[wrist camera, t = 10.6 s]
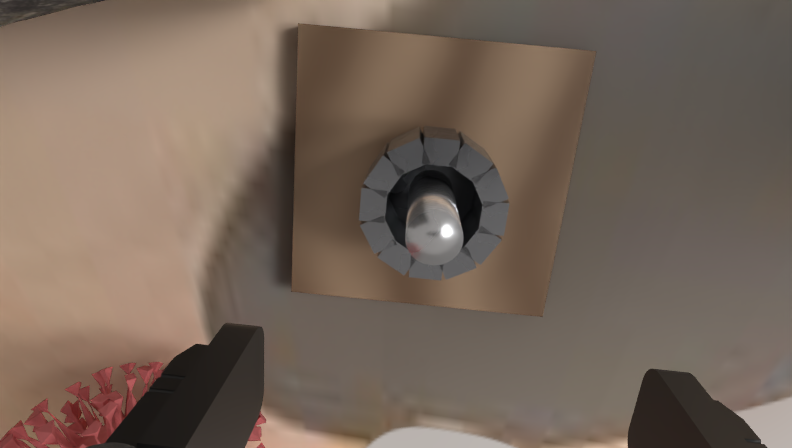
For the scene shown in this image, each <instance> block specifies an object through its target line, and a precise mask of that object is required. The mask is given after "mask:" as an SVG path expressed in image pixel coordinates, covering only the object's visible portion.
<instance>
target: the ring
mask: <svg viewBox="0 0 792 448" xmlns="http://www.w3.org/2000/svg"><path fill="white" fill-rule="evenodd" d="M426 164H428V165H437V166H447V167H453V168H454V169H456V170H457V171H458V172H460V173H461V174H462V175H464V176H465V177H467V178H468V179H469V180H471V181H472V182H473V184H474V186H475V189H474V196H473V202H472V207H471V209H470V210H469V211H468V212H467V214H466V215H465V216H464V217H463V219H462V220H461V221H460V222H461V227H462V231H463V245H462V248H461V250H460V252H459V253H458V255H457V256H456V257H455V258H454V259H452V260H451V261H449V262H447V263H445V264H442V265H427V264H423V263H421V262H419V261H417V260H416V259H415V258H414V257H413V256H412V255H411V254H410V253H409V251H408V249H407V246H406V242H405V233H406V223H405V222H404V221H402V220H401V219H400V218H398V216H397V214H396V212H395V209H394V207H393V205H392V203H391V201H390V199H389V196H390V191H391V189H392V188H393V186H394V185H395V184H396V182H397V181H398V180H399V178H400V177H401V176H402V175H403V174H405V173H407V172H410V171H412V170H414V169H417V168H419V167H421V166H423V165H426ZM507 199H509V197H508V195H507V192H506V190H505V187H504V185H503V182H502V180H501V177H500V175H499V172H498V170H497V168H496V166H495V164H494V163H493V161H492V159H491V158H490V156H489V155H488V153H487V152H486V151H485V149H484V148H483V147H481V146H480V145H478V144H477V143H476V142H474V141H473V140H472V139H470V138H469V137H468V136H466V135H465V134H464V133H462V132H461V131H459V132H458V133H457V132H456V129H452V128H442V127H432V126H424V131H423V133H422V131H421V129H420V126H419V127H417V128H415V129H413V130H410V131H408V132H406V133H404V134H402V135H399V136H397V137H395V138H393V139H391V141H390V143H388V142H387V144H386V145H385V146H384V148H383V149H382V151H381V152H380V153H379V155H378V156H377V158H376V159H375V161H374V162H373V163H372V165H371V166H370V168H369V171H368V173H367V175H366V178H365V180H364V182H363V185H362V188H361V200H360V213H359V221H361V223H360V227H361V229H362V231H363V233H364V235H365V237H366V239H367V241H368V243H369V245H370V247H371V249H372V251H373V253H374V254H375V253H378V257H377V258H379V259H380V260H382V261H383V262H385V263H386V264H388V265H389V266H391V267H392V268H394V269H395V270H397V271H398V272H400V273H401V274H403V275H405V274H406V273H407V271H408V270H409V277H412V278H421V279H431V280H440V281H441V279H442V272H443V274H444V277H445V279H446V280H447V279H450V278H452V277H455V276H458V275H460V274H463V273H465V272H468V271H470V270H473V269H475V268H477V267H476V263H475V262H477V263H478V264H480V265H481V264H482V263H483V262H484V261H485V259H486V258H487V257H488V256H489V255H490V254H491V252H492V251H493V250H494V249H495V248H496V246H497V245H498V244H499V243H500V242H501V241H502V239H501V237H500V235H501V236H504V232H505V227H506V221H507V215H508V209H509V204H510V203H509V202H508V200H507Z"/></svg>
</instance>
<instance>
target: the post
mask: <svg viewBox="0 0 792 448" xmlns="http://www.w3.org/2000/svg"><path fill="white" fill-rule="evenodd" d="M474 189H475V186H474V184H473V182H472V181H471V180H469V179H468V178H467V177H465V176H464V175H462V174H461V173H460V172H458V171H457V170H456V169H454V168H453V167H447V166H437V165H428V164H426V165H423V166H421V167H419V168H417V169H414V170H412V171H410V172H407V173H405V174H403V175H402V176H401V177H400V178H399V180H398V181H397V182H396V184H395V185H394V186H393V188H392V189H391V191H390V196H389V199H390V201H391V203H392V205H393V207H394V209H395V212H396V214H397V216H398V218H400V219H401V220H402V221H404V222H405V223H406V233H405V242H406V246H407V249H408V251H409V253H410V254H411V255H412V256H413V257H414V258H415V259H416V260H417V261H419V262H421V263H423V264H427V265H442V264H445V263H447V262H449V261H451V260H452V259H454V258H455V257H456V256H457V255H458V253H459V252H460V250H461V248H462V245H463V231H462V227H461V222H460V221H461V220H462V219H463V217H464V216H465V215H466V214H467V212H468V211H469V210H470V209H471V207H472V202H473V196H474Z"/></svg>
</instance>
